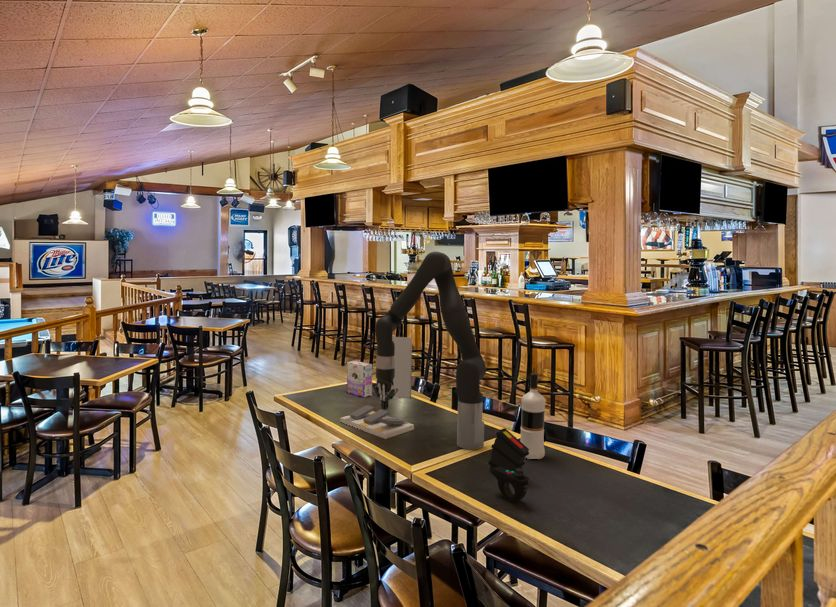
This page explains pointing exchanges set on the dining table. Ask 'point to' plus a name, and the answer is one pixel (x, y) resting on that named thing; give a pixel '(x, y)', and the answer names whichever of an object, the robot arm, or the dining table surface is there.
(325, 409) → the dining table surface
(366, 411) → the rocker far
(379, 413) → the rocker mid
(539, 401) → the vodka
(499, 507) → the dining table surface
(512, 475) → the controller
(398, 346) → the tall grey panel
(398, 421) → the rocker near
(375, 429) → the switch panel
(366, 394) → the candy box
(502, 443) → the dark striped block
